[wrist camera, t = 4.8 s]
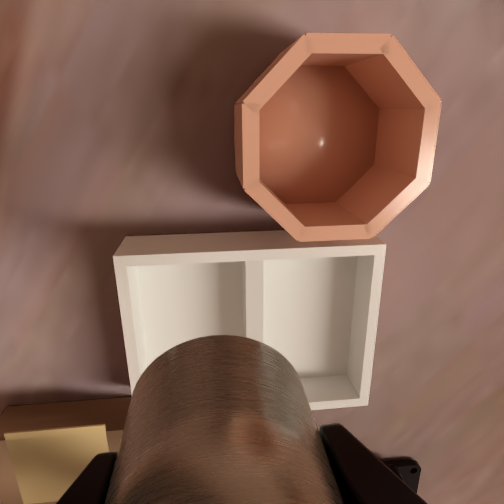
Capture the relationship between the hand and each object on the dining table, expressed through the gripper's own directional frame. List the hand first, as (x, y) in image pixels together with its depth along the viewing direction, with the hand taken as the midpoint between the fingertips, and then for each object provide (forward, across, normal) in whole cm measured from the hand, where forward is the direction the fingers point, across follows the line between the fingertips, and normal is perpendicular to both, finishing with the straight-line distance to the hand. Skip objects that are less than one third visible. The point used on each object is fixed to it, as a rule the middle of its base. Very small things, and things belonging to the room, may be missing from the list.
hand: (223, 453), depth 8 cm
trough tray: (+13, -2, +4) cm, 13 cm away
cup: (+13, -5, -5) cm, 15 cm away
